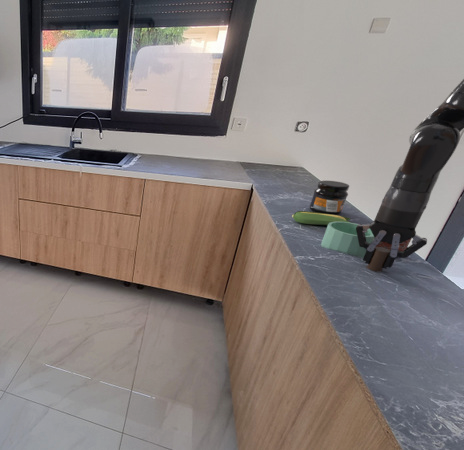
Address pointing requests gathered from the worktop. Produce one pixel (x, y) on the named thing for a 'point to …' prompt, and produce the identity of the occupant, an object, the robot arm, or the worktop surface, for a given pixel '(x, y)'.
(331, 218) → the edible corn
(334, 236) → the green faceted pot
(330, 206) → the supplement container
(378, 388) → the worktop surface
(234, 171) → the worktop surface
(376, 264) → the lid
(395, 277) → the worktop surface
